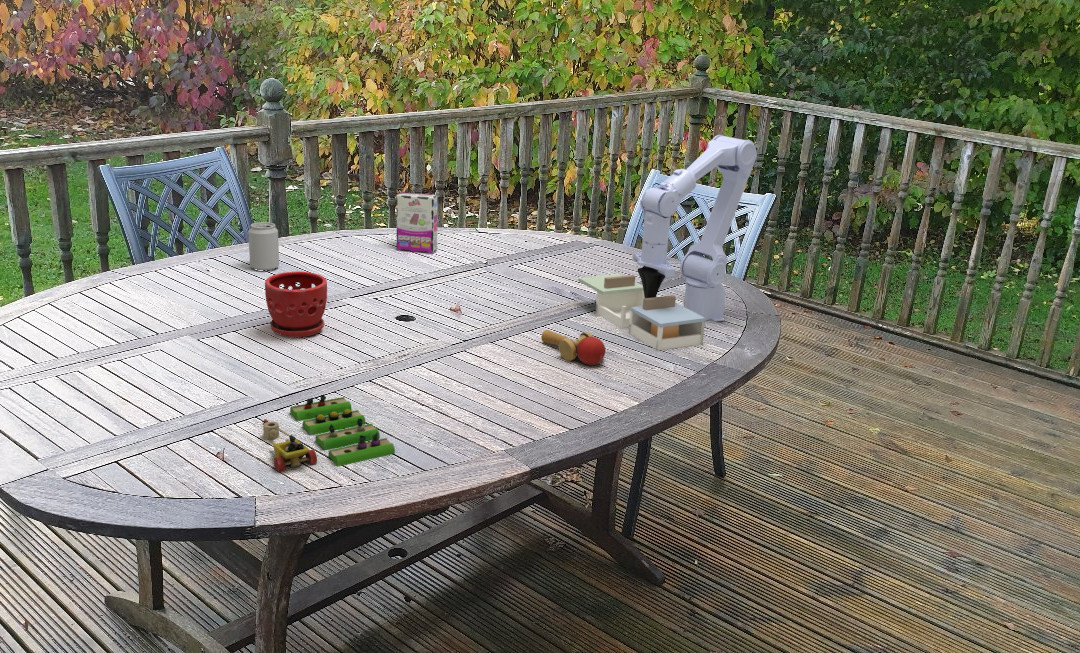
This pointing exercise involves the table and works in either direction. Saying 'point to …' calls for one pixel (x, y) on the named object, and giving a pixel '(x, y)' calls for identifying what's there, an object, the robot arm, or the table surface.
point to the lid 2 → (666, 312)
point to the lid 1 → (612, 283)
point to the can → (263, 246)
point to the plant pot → (296, 303)
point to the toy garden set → (328, 435)
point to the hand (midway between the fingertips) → (649, 299)
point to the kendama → (577, 347)
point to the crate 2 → (642, 329)
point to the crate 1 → (618, 306)
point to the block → (665, 331)
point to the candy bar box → (416, 222)
